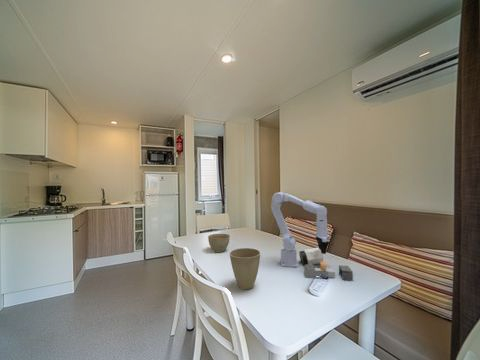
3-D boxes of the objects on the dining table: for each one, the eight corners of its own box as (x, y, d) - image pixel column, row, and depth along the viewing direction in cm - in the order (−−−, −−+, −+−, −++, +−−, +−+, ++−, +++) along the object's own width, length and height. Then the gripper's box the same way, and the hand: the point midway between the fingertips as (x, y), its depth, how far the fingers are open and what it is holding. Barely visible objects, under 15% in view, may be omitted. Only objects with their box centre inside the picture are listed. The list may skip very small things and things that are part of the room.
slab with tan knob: (308, 275, 108) (307, 262, 108) (307, 272, 112) (306, 260, 112) (334, 277, 105) (334, 264, 105) (332, 274, 109) (332, 261, 109)
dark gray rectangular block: (343, 280, 103) (342, 271, 103) (339, 273, 110) (338, 265, 110) (352, 280, 102) (352, 271, 102) (348, 274, 109) (348, 265, 109)
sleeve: (305, 277, 107) (305, 269, 107) (304, 271, 114) (303, 264, 114) (328, 278, 105) (327, 270, 105) (325, 273, 111) (325, 265, 112)
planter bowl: (229, 254, 145) (229, 238, 146) (206, 254, 146) (206, 239, 146) (230, 247, 161) (230, 233, 162) (210, 247, 162) (209, 233, 162)
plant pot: (262, 279, 106) (261, 248, 106) (260, 294, 91) (259, 258, 91) (233, 277, 108) (233, 247, 109) (227, 292, 94) (226, 257, 94)
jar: (325, 261, 120) (304, 264, 120) (321, 263, 127) (302, 267, 127) (319, 245, 124) (300, 249, 124) (316, 248, 131) (298, 252, 131)
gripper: (332, 230, 110) (332, 256, 110) (326, 225, 124) (326, 247, 124) (318, 230, 111) (318, 255, 111) (314, 224, 125) (314, 247, 125)
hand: (322, 251), depth 118 cm, fingers open, 7 cm apart
